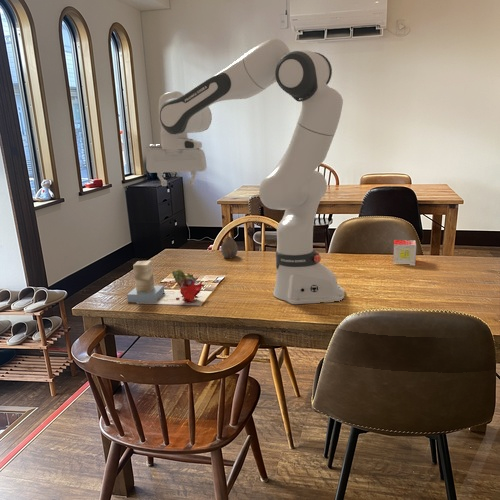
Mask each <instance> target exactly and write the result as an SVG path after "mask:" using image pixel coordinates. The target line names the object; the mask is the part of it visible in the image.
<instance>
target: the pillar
mask: <svg viewBox="0 0 500 500" xmlns="http://www.w3.org/2000/svg"><path fill="white" fill-rule="evenodd" d="M152 264H153V263H152V260H138V261H136V262H135V263H133V265H132V267H133V274H134V282H135V287H136V290H137V292H151V290H152V289H153V288H154V286H155V279H154V273H153V272H154V271H153V265H152Z"/></svg>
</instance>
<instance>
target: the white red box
mask: <svg viewBox="0 0 500 500" xmlns="http://www.w3.org/2000/svg"><path fill="white" fill-rule="evenodd" d="M416 256H417V242H416V240H414V239H413V240H411V239H410V240H409V239H393V257H392V258H393V260H392V262H393V263H392V265H394V263H396V264H397V263H398V264H410V265H409V266H416V261H417V260H416V259H417V257H416Z"/></svg>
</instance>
